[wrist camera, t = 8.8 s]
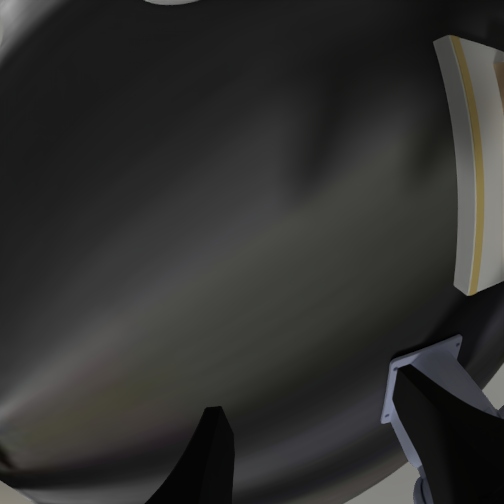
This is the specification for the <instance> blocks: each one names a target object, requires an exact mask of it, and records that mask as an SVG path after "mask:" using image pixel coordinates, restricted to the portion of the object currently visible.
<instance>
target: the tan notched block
mask: <svg viewBox="0 0 504 504" xmlns="http://www.w3.org/2000/svg"><path fill="white" fill-rule="evenodd" d="M493 67H494V71H495V75H496V79H497V83H498V87H499V92H500V97H501V103H502V108H503V114H504V62H500V63H495V64H493Z"/></svg>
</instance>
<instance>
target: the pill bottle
mask: <svg viewBox="0 0 504 504" xmlns="http://www.w3.org/2000/svg"><path fill="white" fill-rule="evenodd" d="M145 1H147V2H150V3H155V4H161V5H178V4H186V3H191V2H195V1H198V0H145Z"/></svg>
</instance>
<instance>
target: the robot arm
mask: <svg viewBox="0 0 504 504" xmlns="http://www.w3.org/2000/svg"><path fill="white" fill-rule="evenodd" d="M461 342H462V336H461V335H460V334H458V335H456V336H453V337H451V338H449V339H446V340H444V341H441V342H439V343H436V344H434V345H431V346H429V347H426V348H423V349H420V350H418V351H415V352H412V353H409V354H406V355H404V356H401V357H398V358H395V359H393V360H392V361H391V362H390V367H389V375H388V382H387V388H386V394H385V400H384V406H383V411H382V416H381V423H383V424H385V423H388V422H391V424H392V426H393V428H394V430H395V432H396V435H397V437H398V439H399V441H400V443H401V446H402V448H403V450H404V452H405V455H406V457H407V459H408V461H409V462H410V463H411V464H412V465H413V466H414V467H416V468H417V469H418V471H419V473H420V476H421V477H419V478H418V479H417V481H416V483H415V487H414V493H413V499H414V504H504V405H503V406H502V407H501V408H500V409H499V410H497V409H495V408H494V407H493V405H492V404H491V403H490V401H489V400H488V399H487V397H486V396H485V395H484V393H483V392H482V391H481V389H480V388H479V387H478V386H477V384H476V383H475V382H474V381H473V379H472V378H471V377H470V376H469V374H468V373H467V372H466V371H465V370H464V368H463V367H462V366H461V365H460V363H459V362H458V361H457V357H458V354H459V350H460V346H461ZM234 458H235V451H234V435H233V432H232V429H231V427H230V425H229V423H228V420H227V418H226V416H225V414H224V411H223V409H222V407H221V406H217V407H207V408H206V409H205V410H204V412H203V415H202V417H201V419H200V422H199V424H198V426H197V428H196V430H195V432H194V434H193V436H192V438H191V440H190V442H189V444H188V446H187V448H186V450H185V451H184V453H183V455H182V456H181V458H180V460H179V461H178V463H177V464H176V466H175V467H174V469H173V470H172V472H171V473H170V475H169V476H168V477H167V479H166V480H165V481H164V483H163V484H162V485H161V486H160V487H159V489H158V490H157V491H156V492H155V493H154V494H153V495H152V497H151V498H150V499H149V500H148V501H147V502H146V503H145V504H232V487H233V473H234Z"/></svg>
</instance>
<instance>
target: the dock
mask: <svg viewBox="0 0 504 504" xmlns="http://www.w3.org/2000/svg"><path fill="white" fill-rule="evenodd" d="M433 44H434V48H435V51H436V54H437V58H438V62H439V65H440V69H441V73H442V77H443V81H444V86H445V91H446V95H447V100H448V106H449V111H450V117H451V124H452V131H453V138H454V147H455V157H456V169H457V187H458V236H457V254H456V267H455V277H454V286H455V287H457V288H458V289H459V290H460V291H462V292H463V293H464V294H465V295H467V296H468V295H469V296H471V295H473V294H476V292H479V291H481V290H483V289H486V288H488V287H491V286H493V285H495V284H498V283H500V282H502V281H504V114H503V108H502V103H501V97H500V92H499V87H498V83H497V79H496V75H495V71H494V67H493V64H495V63H500V62H504V52H502V51H500V50H497V49H494V48H491V47H488V46H485V45H482V44H479V43H476V42H473V41H469V40H466V39H462V38H459V37H457V36H453V35H447V36H444V37H442V38H440V39H437V40H435V41H433Z"/></svg>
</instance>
